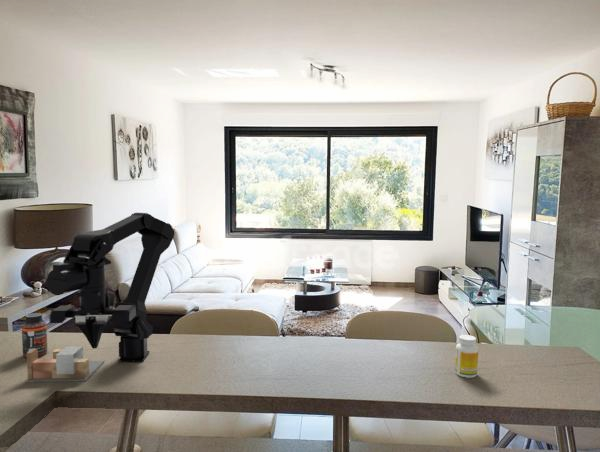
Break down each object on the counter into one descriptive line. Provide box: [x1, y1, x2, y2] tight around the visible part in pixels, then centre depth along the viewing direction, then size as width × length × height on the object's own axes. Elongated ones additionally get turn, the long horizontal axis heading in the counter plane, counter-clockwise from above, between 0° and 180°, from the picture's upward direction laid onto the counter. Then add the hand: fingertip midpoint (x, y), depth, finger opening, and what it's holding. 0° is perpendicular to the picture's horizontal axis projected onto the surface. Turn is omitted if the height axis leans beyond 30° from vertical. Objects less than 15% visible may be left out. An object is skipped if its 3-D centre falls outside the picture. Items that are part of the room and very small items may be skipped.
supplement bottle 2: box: [454, 334, 479, 379], centre depth 116 cm, size 5×5×10 cm
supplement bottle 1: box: [21, 312, 48, 358], centre depth 127 cm, size 6×6×11 cm
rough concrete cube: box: [56, 346, 84, 374], centre depth 112 cm, size 4×5×5 cm
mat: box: [26, 360, 105, 383], centre depth 116 cm, size 14×12×1 cm
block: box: [26, 348, 90, 380], centre depth 116 cm, size 14×10×6 cm
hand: (95, 347), depth 113 cm, fingers closed
